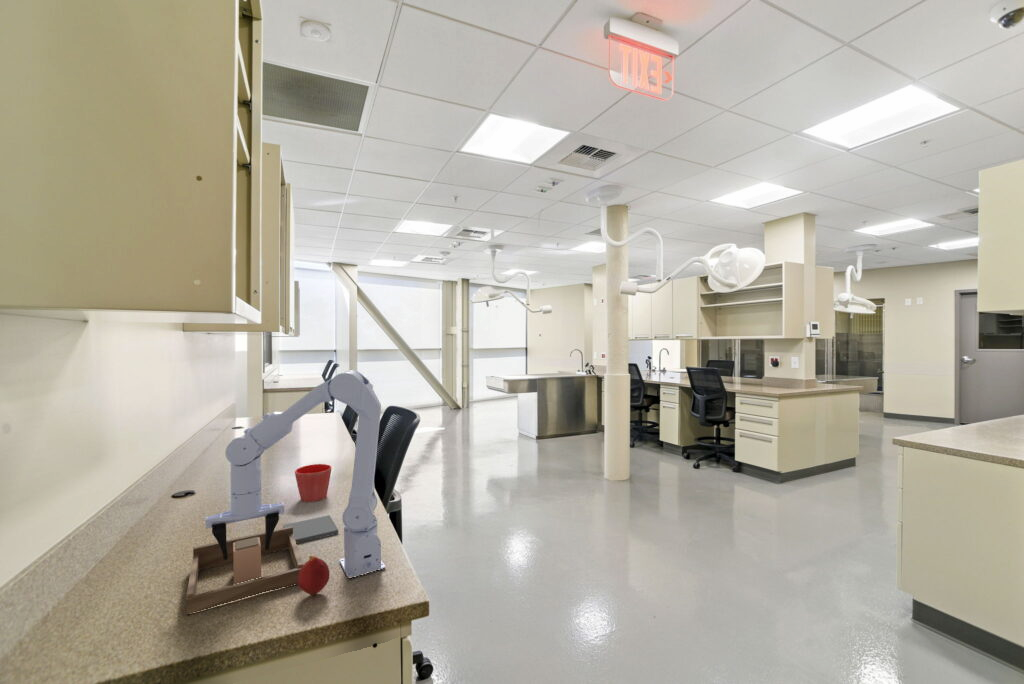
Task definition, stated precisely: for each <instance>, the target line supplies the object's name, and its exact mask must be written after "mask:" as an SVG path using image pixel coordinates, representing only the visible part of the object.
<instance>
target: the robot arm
mask: <svg viewBox="0 0 1024 684" xmlns="http://www.w3.org/2000/svg"><path fill="white" fill-rule="evenodd" d="M334 400H337V401H338V402H340V403H343V404H345V405H347V406H349V407H350V408H351V409H352V410H353V411H354V412H355V413H356V414H357V415H358V420H357V432H356V442H355V449H354V450H355V451H354V458H353V459H354V461H353V471H352V480H351V487H350V492H349V497H348V503H347V506H346V507H345V509H344V511H343V513H342V518H341V519H342V523H343V547H344V548H343V549H344V552H343V553H344V555H343V556H344V557H343V558H339V563H340V566H341V567H342V568H343V571H344V573H345V572H346V573H345V575H346V574H347V575H346V577H347V576H348V577H354V576H358V575H361V574H365V573H367V572H371V571H374V570H378V569H382V568H385V567H386V565H385V564H384V562H383V560H382V543H381V539H380V537H379V536H378V518H377V516H376V515H375V514H374V513H375V510H376V508H377V505H378V499H377V497H376V494H375V487H376V486H375V474H376V463H377V455H378V454H377V453H378V444H379V443H378V442H379V435H380V434H379V432H380V425H381V424H380V423H381V413H382V404H381V401H380V400H379V398H378V396H377V394H376V393H375V391H374V389H373V387H372V386H371V382H370V379H368V378H367V377H365V376H364V375H363V374H362V373H361V372H360V371H358V370H353V369H351V370H347V371H344V372H340V373H338V374H337V375H335V376H333V378H330V379H328V380H326V381H324V382H322V383H320V384H319V385H317V386H316V387H314V388H313V389H311V391H309V392H308V393H307V394H305V395H303V396H302V397H301V398H300V399H299V400H297V401H295V403H294V404H292V405H291V406H289V407H288V408H287V409H286V410H284V411H273V412H272V413H270V412H267V413H265V414H264V415H262V417H261V418H262V420H260V421H259V422H258V423H257V424H255V425H254V426H253V427H251V428H250V427H247V428H246V429H245V430H244V431H243V433H244V435H241V436H239V437H236V438H233V439H232V440H231V441H230V442H229V443H228V444H227V446H226V448H225V457H226V459H227V461H228V462H229V463H230V473H229V474H230V475H229V476H230V510H227V511H224V512H220V513H216V514H213V515H207V516H205V529H206V530H207V529H211V534H212V536H213V537H214V538H215V540H216V541H217V542H218V543H219V545H220V547H221V550H222V553H223V558H224V560H226V559H228V550H227V541H226V540H227V524H232V523H237V522H241V521H247V520H252V519H257V518H262V517H264V519H265V520H264V523H265V524H264V525H265V529H264V530H265V531H264V532H265V550H269V545H270V540H271V537H272V534H273V531H274V530H276V527H277V525H278V523H279V520H280V515H282V514H285V503H284V502H278V503H267V504H266V503H265V504H262V464H261V463H262V460H261V459H262V458H261V456H262V455H263V454H264V452H265V451H267V450H268V449H270V448H271V447H272V446H274V445H275V444H277V443H278V442H279V441H280V440H282V439H283V438H284V437H287V435H288V434H290V433H291V432H292V430H293V425H294V423H295V422H296V421H297V420H299V419H300V418H302V417H304V416H305V415H306V414H307V413H309V412H310V411H312V410H313V409H315V408H317V406H319V405H320V404H322V403H327V402H329V403H330V402H333V401H334ZM385 569H386V568H385ZM382 570H383V569H382ZM365 575H366V574H365ZM348 577H347V578H348ZM358 577H359V576H358Z"/></svg>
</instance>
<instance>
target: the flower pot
mask: <svg viewBox="0 0 1024 684" xmlns="http://www.w3.org/2000/svg"><path fill="white" fill-rule="evenodd" d="M331 474H332V465H330V464H326V463H317V464H316V463H315V464H314V463H313V464H308V465H307V464H306V465H304V466H300V467H299V468H296V469H295V471H294V475H295V480H296V485H297V489H298V490H297V491H298V494H299V497H300V500H301V502H303V501H305V502H304V503H313V502H312V501H314V502H317V501H318V500H319V501H321V499H322V500H324V499H326V498H327V496H328V491H329V485H330V480H331ZM323 498H324V499H323Z"/></svg>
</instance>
